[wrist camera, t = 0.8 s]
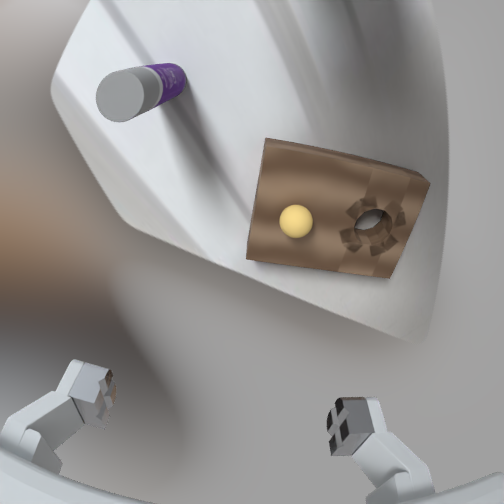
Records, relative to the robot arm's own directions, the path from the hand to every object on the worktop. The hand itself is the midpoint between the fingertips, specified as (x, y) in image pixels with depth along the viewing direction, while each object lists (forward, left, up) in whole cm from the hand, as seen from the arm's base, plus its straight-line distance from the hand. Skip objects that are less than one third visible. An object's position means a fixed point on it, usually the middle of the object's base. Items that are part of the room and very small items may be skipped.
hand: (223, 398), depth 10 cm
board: (+8, +13, -34) cm, 37 cm away
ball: (+8, +7, -28) cm, 30 cm away
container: (-6, -11, -34) cm, 37 cm away
